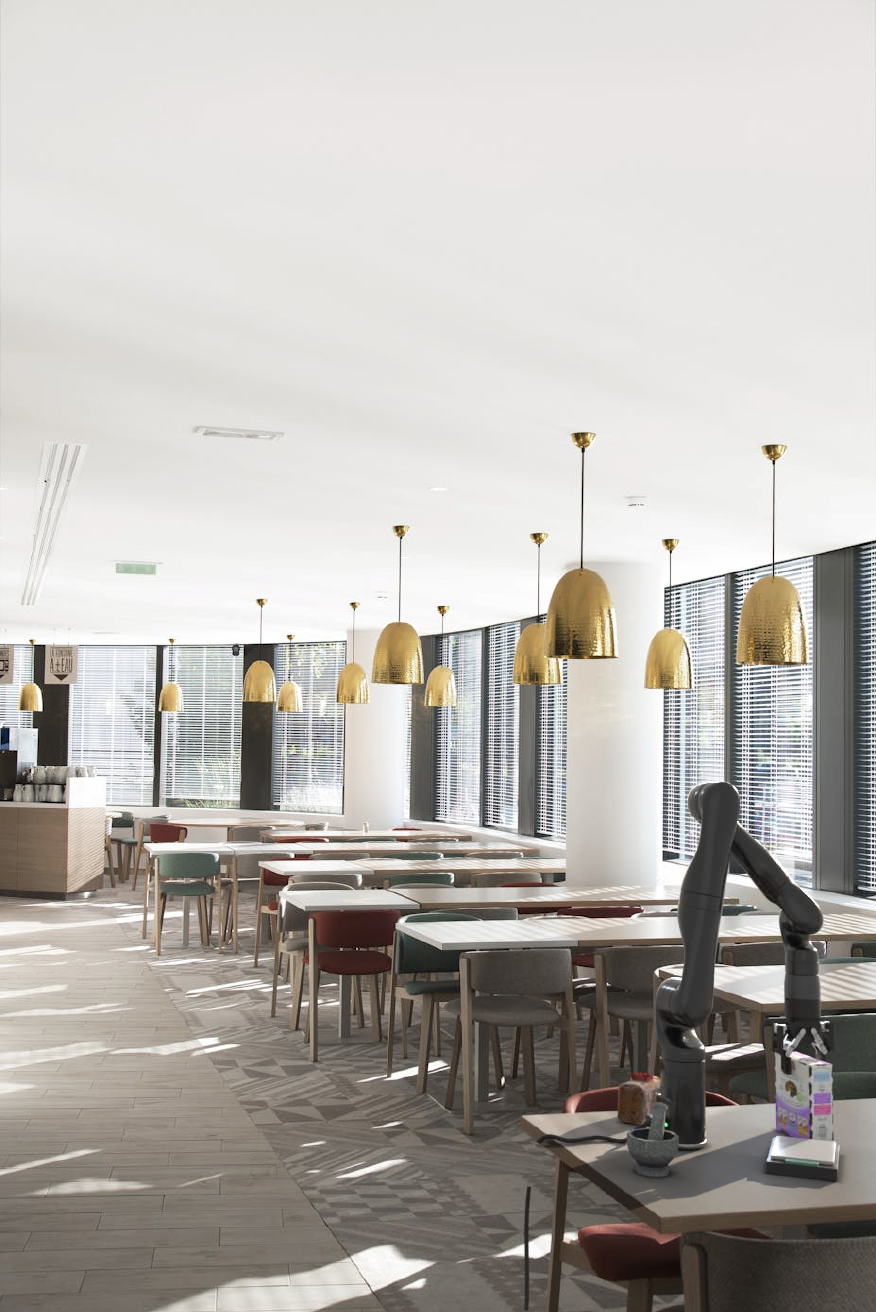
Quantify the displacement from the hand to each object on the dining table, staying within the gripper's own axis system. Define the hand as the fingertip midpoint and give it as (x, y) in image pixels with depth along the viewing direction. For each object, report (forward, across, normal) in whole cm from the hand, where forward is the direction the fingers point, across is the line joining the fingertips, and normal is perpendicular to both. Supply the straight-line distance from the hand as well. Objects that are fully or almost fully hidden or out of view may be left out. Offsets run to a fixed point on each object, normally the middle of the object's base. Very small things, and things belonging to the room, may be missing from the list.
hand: (803, 1072), depth 269 cm
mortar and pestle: (+13, +43, +13) cm, 47 cm away
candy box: (+13, 0, 0) cm, 13 cm away
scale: (+13, +12, +17) cm, 25 cm away
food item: (+13, +26, -23) cm, 37 cm away
